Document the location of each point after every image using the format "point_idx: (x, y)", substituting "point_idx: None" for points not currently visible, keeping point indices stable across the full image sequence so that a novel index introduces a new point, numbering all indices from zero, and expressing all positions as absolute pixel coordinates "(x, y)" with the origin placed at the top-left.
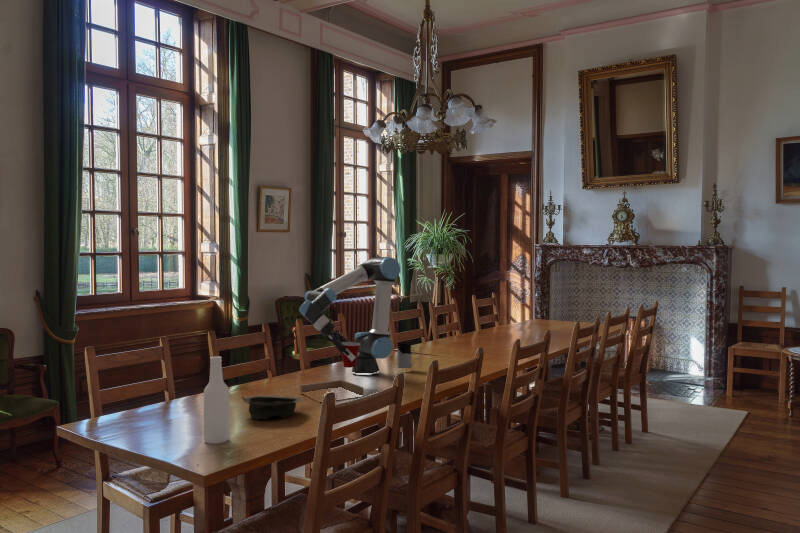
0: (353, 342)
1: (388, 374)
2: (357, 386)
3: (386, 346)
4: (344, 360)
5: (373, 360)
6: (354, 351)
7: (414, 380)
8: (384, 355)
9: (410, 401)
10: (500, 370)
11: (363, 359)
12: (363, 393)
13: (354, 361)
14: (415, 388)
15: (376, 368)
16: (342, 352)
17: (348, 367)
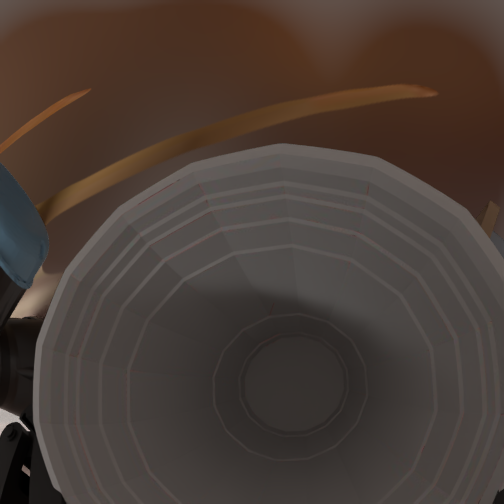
0: (42, 365)
1: (50, 283)
2: (489, 232)
3: (9, 184)
4: (363, 419)
5: (7, 323)
6: (359, 272)
7: (136, 165)
8: (40, 219)
9: (430, 92)
10: (70, 94)
11: (10, 365)
12: (480, 213)
13: (318, 321)
14: (262, 115)
15: (33, 319)
16: (383, 469)
17: (345, 375)
